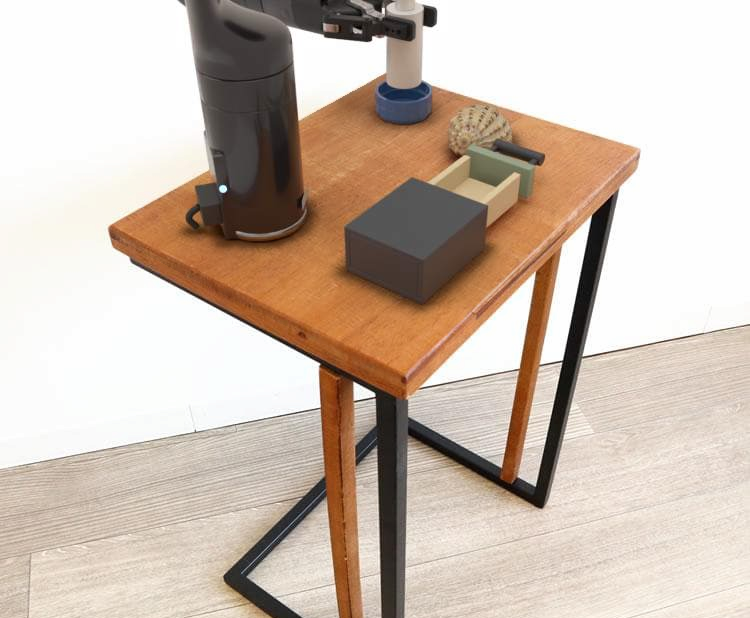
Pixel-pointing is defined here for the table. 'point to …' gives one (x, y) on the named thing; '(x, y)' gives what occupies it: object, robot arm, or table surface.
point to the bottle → (405, 47)
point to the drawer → (492, 176)
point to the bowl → (403, 103)
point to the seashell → (477, 128)
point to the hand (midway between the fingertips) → (424, 24)
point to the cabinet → (415, 239)
